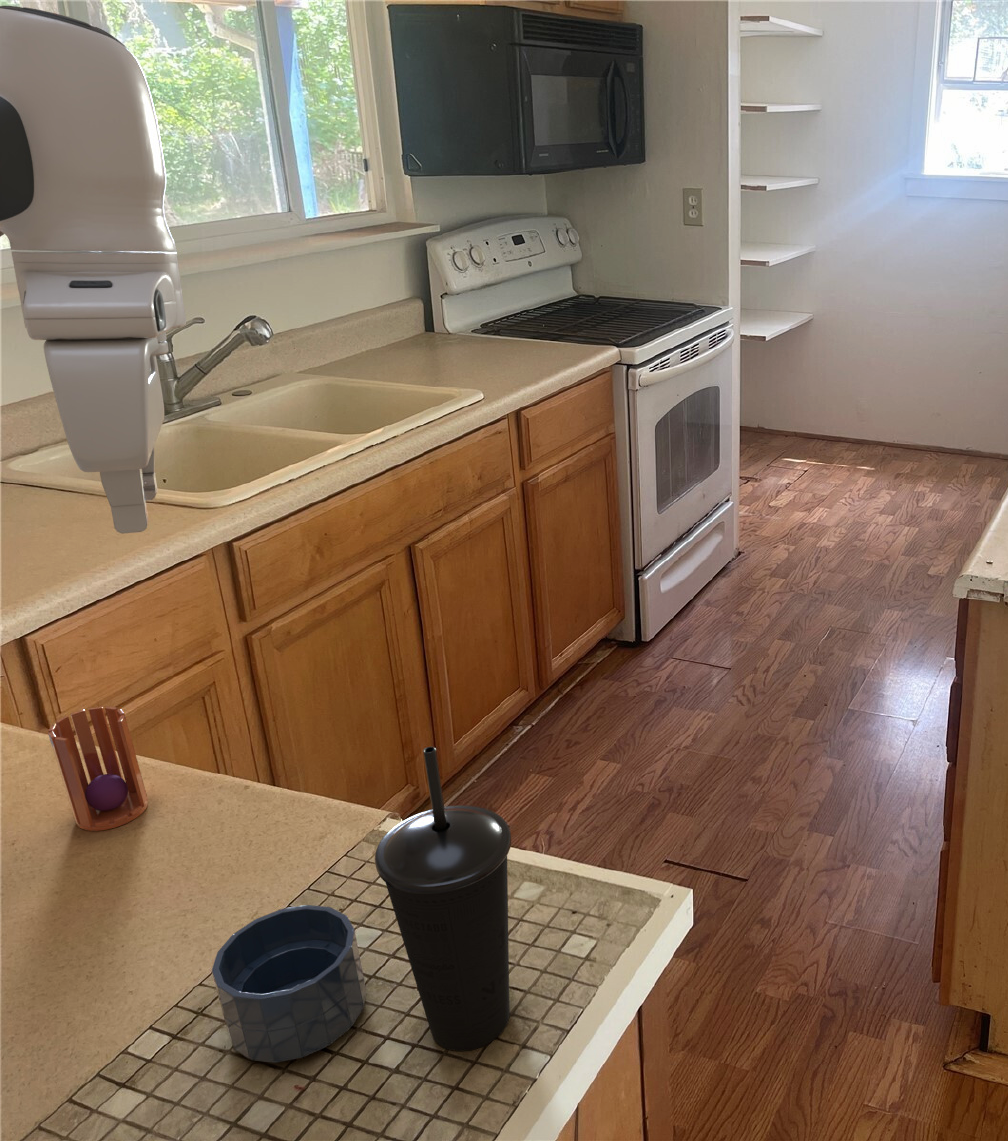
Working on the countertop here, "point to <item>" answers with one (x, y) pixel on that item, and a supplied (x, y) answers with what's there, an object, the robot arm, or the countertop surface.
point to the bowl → (290, 983)
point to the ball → (106, 792)
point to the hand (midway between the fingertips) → (138, 513)
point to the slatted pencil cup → (98, 765)
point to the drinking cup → (453, 913)
